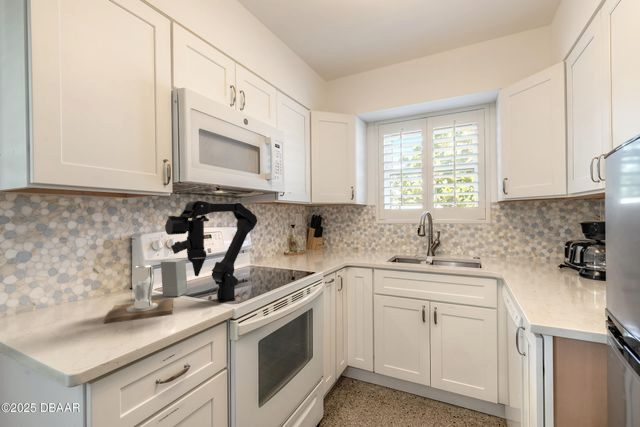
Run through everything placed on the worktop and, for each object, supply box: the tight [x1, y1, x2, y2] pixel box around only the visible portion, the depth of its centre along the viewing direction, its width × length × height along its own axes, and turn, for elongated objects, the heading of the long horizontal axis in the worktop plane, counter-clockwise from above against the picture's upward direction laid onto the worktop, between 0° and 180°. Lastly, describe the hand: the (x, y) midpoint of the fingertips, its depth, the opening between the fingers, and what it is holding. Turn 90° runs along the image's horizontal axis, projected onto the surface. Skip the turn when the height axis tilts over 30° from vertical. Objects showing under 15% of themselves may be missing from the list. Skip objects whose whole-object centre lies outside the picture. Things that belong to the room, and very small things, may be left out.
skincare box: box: [160, 258, 188, 297], centre depth 129 cm, size 8×7×16 cm
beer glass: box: [131, 264, 155, 310], centre depth 106 cm, size 7×7×15 cm
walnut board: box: [104, 298, 175, 324], centre depth 106 cm, size 20×16×2 cm
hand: (196, 273), depth 111 cm, fingers open, 9 cm apart
